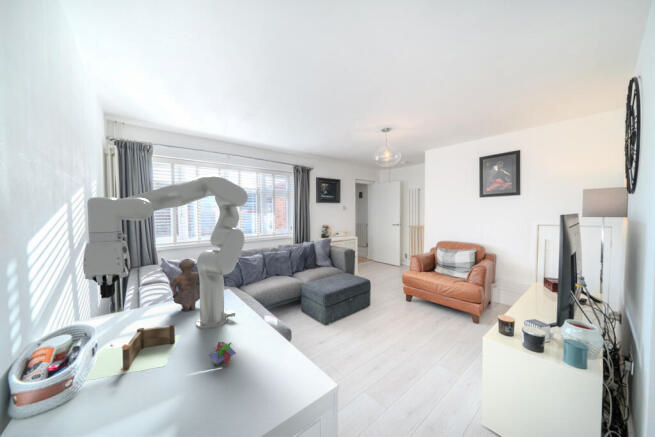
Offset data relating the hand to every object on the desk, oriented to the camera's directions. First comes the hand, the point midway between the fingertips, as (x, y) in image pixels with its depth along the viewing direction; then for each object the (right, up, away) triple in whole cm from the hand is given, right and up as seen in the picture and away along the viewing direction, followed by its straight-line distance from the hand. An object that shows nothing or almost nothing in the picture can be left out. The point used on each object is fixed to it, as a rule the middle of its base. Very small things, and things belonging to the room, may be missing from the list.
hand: (108, 296), depth 73 cm
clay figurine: (-1, -21, +44) cm, 48 cm away
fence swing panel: (+5, -21, +3) cm, 22 cm away
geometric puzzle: (+35, -22, +2) cm, 41 cm away
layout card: (+3, -22, +6) cm, 23 cm away
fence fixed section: (+7, -21, +11) cm, 25 cm away
